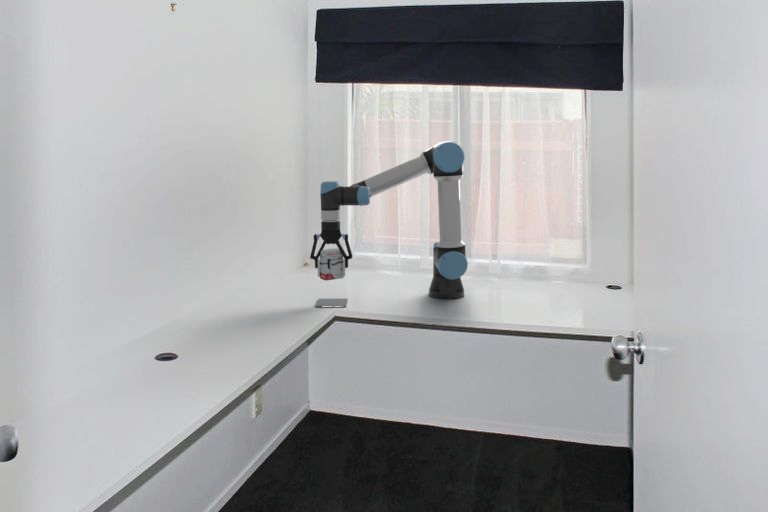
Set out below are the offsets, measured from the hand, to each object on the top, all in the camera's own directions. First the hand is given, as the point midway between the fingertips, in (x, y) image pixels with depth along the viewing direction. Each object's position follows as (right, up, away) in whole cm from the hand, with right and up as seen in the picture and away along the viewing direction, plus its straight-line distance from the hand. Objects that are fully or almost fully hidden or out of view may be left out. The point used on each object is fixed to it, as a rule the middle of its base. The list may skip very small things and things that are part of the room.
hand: (331, 275), depth 247 cm
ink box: (0, -1, 0) cm, 1 cm away
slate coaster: (0, -11, +2) cm, 11 cm away
